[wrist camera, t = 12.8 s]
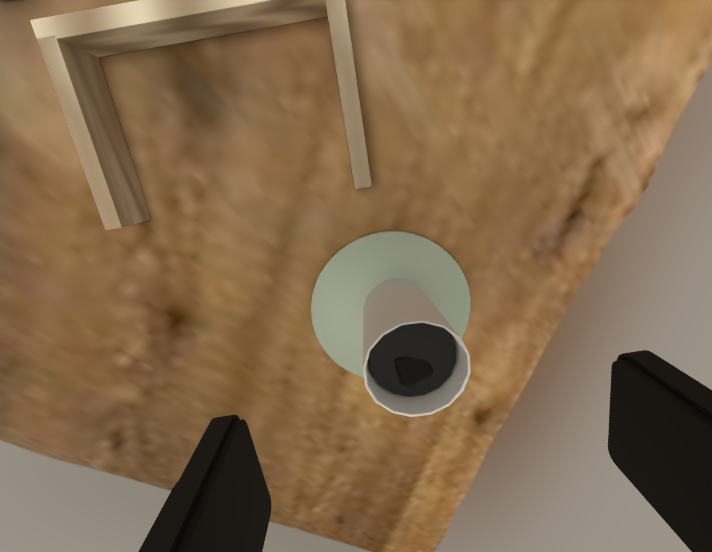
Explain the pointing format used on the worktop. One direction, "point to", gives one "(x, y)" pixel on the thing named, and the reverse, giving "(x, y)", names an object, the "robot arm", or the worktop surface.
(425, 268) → the disc
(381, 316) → the white coffee cup
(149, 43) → the frame
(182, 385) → the worktop surface
